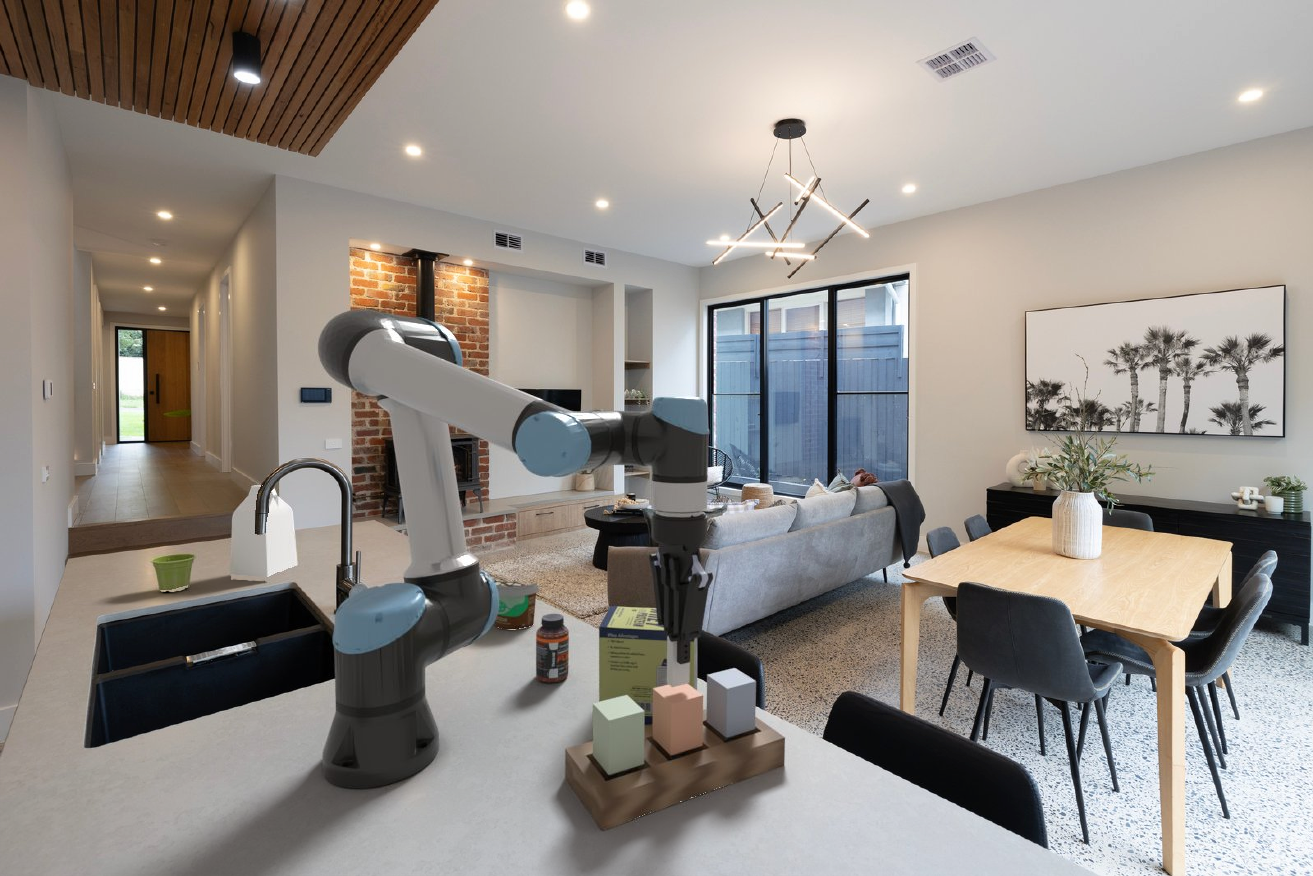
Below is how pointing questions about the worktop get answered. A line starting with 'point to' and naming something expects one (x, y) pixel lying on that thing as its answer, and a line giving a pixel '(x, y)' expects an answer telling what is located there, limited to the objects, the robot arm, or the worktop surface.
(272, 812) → the worktop surface
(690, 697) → the peach rectangular prism
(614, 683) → the protein box
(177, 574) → the plant pot
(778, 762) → the walnut board
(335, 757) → the robot arm
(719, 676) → the slate upright cuboid
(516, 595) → the food container
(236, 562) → the milk
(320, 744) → the worktop surface
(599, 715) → the sage rectangular block
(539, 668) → the supplement bottle
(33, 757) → the worktop surface
